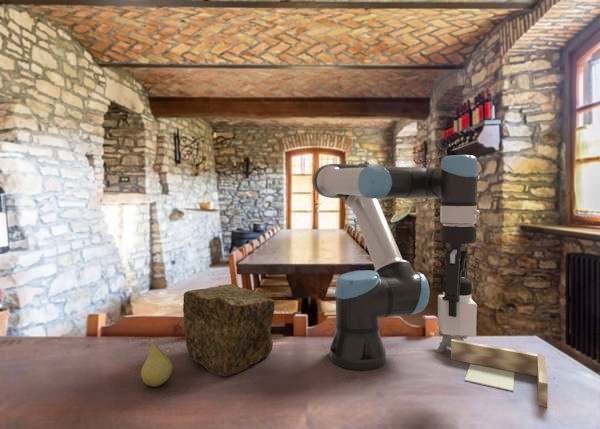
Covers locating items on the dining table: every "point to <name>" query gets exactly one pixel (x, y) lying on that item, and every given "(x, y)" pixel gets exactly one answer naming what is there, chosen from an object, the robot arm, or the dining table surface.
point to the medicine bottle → (466, 310)
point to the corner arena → (504, 362)
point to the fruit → (156, 367)
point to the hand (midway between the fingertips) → (456, 323)
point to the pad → (490, 377)
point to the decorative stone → (227, 327)
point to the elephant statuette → (448, 340)
